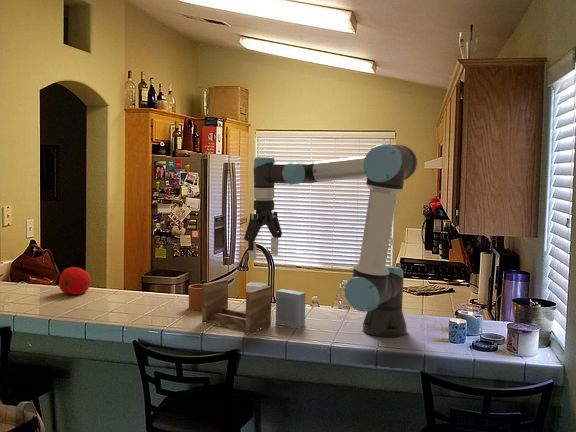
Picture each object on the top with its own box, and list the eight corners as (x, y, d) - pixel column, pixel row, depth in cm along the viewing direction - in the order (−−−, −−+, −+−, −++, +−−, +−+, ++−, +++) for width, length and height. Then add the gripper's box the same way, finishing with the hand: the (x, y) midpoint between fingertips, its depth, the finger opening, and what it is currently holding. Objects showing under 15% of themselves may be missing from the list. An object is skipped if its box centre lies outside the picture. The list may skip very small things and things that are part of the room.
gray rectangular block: (304, 325, 211) (305, 292, 210) (298, 328, 207) (298, 294, 206) (281, 321, 216) (282, 288, 215) (275, 323, 213) (275, 290, 212)
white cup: (263, 312, 228) (263, 286, 227) (243, 310, 230) (244, 285, 229) (268, 307, 236) (268, 282, 235) (249, 306, 237) (249, 281, 237)
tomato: (80, 297, 261) (61, 304, 249) (66, 272, 262) (46, 278, 249) (101, 283, 258) (82, 290, 245) (86, 258, 258) (67, 264, 246)
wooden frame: (270, 325, 210) (271, 286, 209) (250, 332, 201) (250, 292, 199) (223, 315, 223) (223, 278, 221) (202, 322, 213) (202, 284, 212)
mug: (213, 312, 227) (213, 289, 226) (184, 310, 230) (184, 288, 229) (222, 306, 235) (221, 284, 234) (194, 304, 238) (193, 283, 237)
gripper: (275, 197, 227) (275, 252, 229) (234, 200, 206) (234, 260, 208) (291, 198, 223) (291, 253, 224) (251, 201, 202) (251, 262, 204)
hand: (263, 257), depth 216 cm, fingers open, 13 cm apart
